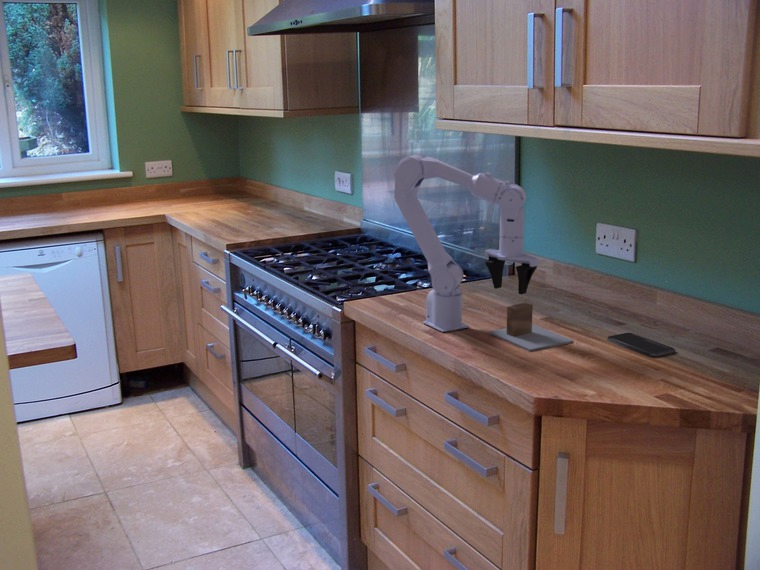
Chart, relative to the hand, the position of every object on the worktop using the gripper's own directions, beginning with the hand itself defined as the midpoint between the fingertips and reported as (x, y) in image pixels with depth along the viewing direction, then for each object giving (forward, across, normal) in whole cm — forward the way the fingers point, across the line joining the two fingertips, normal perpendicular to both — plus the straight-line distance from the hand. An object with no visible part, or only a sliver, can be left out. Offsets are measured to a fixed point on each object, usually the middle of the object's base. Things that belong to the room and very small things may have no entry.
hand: (509, 290), depth 201 cm
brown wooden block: (+10, +4, -1) cm, 11 cm away
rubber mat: (+10, +7, -1) cm, 13 cm away
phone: (+11, +29, +12) cm, 33 cm away
